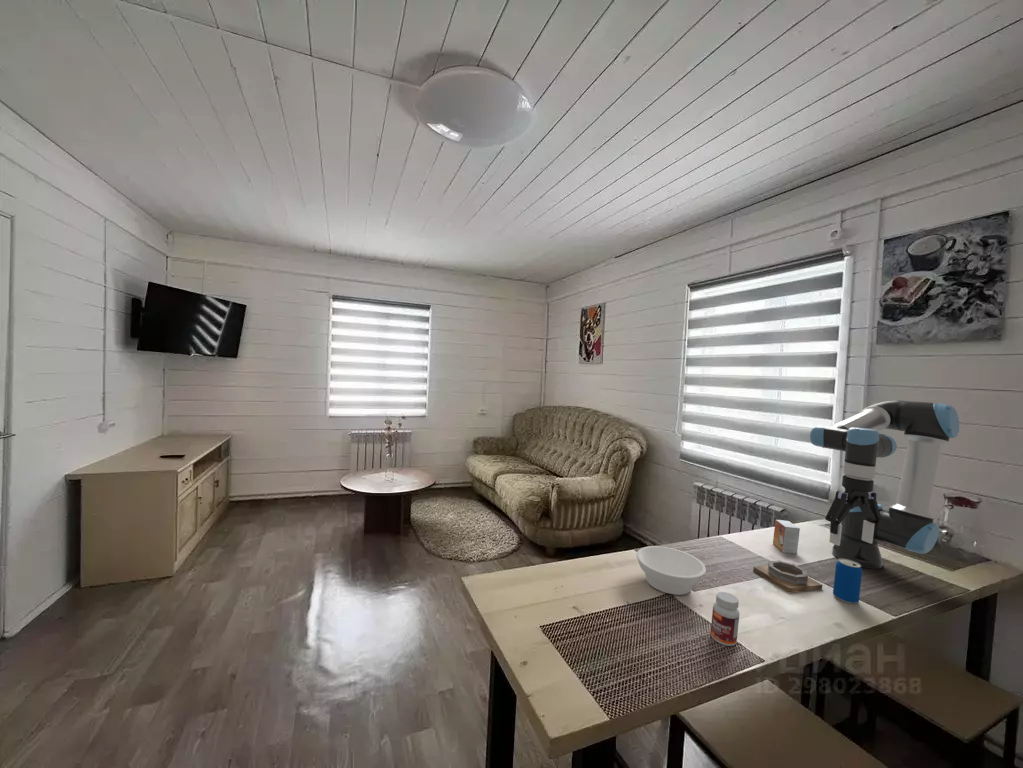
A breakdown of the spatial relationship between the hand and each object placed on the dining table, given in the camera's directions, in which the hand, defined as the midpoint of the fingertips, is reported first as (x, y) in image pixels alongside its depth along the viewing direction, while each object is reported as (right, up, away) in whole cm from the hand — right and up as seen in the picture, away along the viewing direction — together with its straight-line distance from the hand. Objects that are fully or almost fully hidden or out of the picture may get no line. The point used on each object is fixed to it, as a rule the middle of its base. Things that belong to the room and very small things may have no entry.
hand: (850, 542), depth 130 cm
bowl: (-57, -15, +3) cm, 59 cm away
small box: (+4, -17, +37) cm, 41 cm away
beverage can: (-1, -19, +1) cm, 19 cm away
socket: (-13, -17, +11) cm, 24 cm away
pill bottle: (-53, -16, -23) cm, 60 cm away
